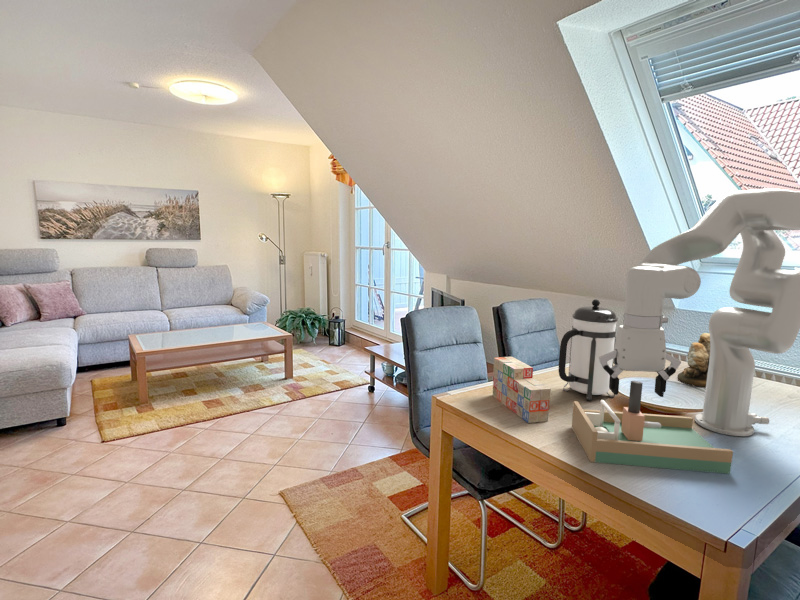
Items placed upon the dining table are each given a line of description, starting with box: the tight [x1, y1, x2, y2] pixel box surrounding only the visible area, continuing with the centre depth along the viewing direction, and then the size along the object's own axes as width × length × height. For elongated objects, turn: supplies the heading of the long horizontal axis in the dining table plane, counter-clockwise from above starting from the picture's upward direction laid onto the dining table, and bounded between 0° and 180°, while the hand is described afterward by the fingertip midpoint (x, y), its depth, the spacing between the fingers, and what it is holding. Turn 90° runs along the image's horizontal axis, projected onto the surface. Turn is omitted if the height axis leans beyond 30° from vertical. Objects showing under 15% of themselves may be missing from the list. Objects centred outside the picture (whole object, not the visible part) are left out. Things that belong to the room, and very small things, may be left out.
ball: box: [595, 427, 608, 432], centre depth 106 cm, size 4×4×4 cm
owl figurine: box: [677, 332, 710, 388], centre depth 154 cm, size 18×12×17 cm, turn 135°
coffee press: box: [558, 299, 619, 402], centre depth 137 cm, size 17×16×30 cm
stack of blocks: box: [492, 356, 552, 424], centre depth 127 cm, size 21×6×12 cm, turn 14°
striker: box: [621, 380, 661, 441], centre depth 103 cm, size 8×5×13 cm, turn 81°
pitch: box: [571, 399, 734, 475], centre depth 104 cm, size 28×18×9 cm, turn 81°
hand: (636, 393), depth 103 cm, fingers open, 9 cm apart
